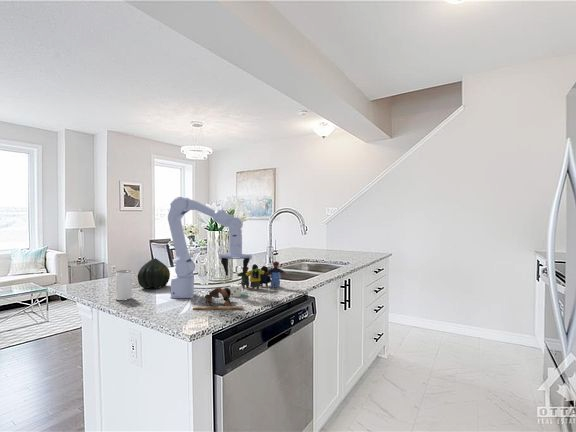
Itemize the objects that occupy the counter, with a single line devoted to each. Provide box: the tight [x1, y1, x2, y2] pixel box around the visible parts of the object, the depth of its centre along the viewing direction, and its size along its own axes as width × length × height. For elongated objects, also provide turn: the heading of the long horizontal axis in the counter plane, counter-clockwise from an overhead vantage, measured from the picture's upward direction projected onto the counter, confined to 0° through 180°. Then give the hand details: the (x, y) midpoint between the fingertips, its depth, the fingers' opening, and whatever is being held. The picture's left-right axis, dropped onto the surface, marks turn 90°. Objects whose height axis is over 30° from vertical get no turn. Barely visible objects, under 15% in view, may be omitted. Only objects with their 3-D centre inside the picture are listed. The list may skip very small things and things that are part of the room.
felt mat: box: [239, 292, 249, 298], centre depth 147 cm, size 7×7×1 cm
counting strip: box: [192, 305, 244, 311], centre depth 126 cm, size 19×2×1 cm, turn 90°
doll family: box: [236, 261, 287, 290], centre depth 161 cm, size 23×9×13 cm, turn 118°
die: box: [229, 283, 242, 298], centre depth 146 cm, size 5×5×5 cm
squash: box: [137, 257, 171, 290], centre depth 163 cm, size 14×15×15 cm
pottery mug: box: [204, 286, 232, 306], centre depth 133 cm, size 12×10×8 cm
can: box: [114, 269, 133, 301], centre depth 141 cm, size 6×6×12 cm
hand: (235, 275), depth 146 cm, fingers open, 7 cm apart
